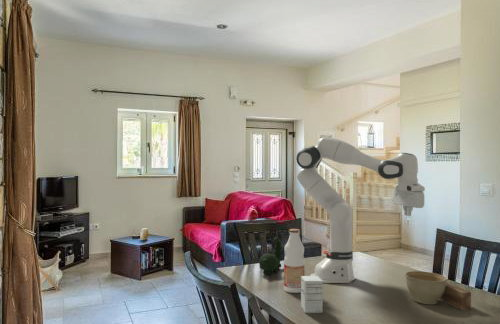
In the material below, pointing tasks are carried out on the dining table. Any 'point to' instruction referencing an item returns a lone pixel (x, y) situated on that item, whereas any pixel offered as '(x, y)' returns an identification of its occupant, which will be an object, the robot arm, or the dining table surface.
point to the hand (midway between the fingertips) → (407, 215)
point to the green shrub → (272, 259)
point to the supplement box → (311, 294)
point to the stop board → (456, 297)
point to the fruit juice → (293, 262)
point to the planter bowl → (425, 286)
